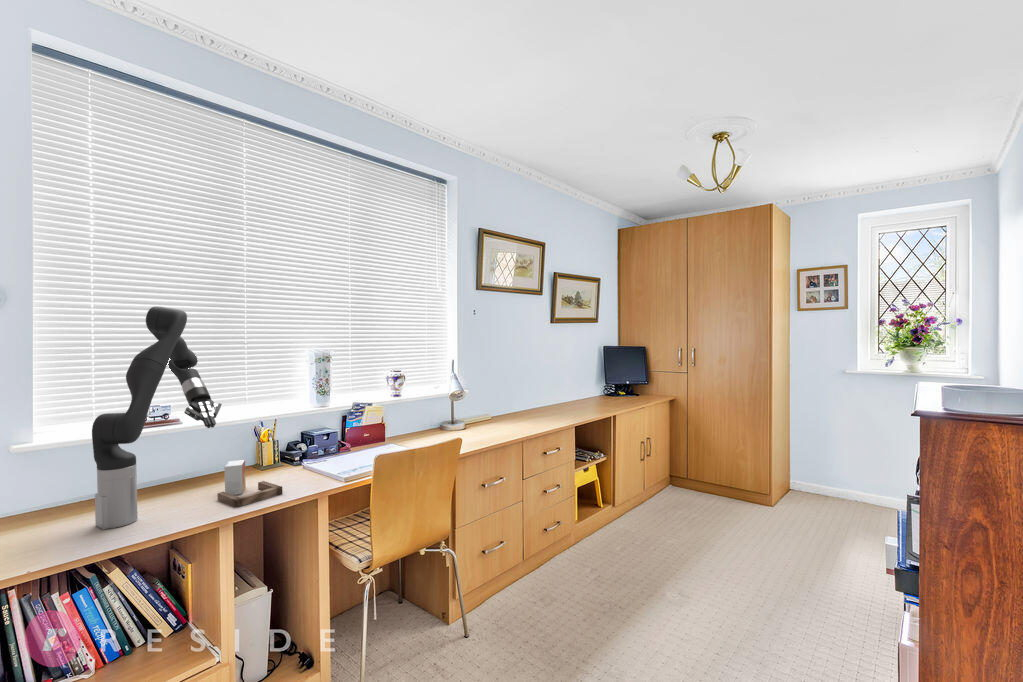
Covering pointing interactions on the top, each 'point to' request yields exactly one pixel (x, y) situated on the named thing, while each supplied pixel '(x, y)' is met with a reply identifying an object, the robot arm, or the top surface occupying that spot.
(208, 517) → the top surface
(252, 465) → the top surface
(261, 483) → the walnut bay
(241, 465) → the small box
